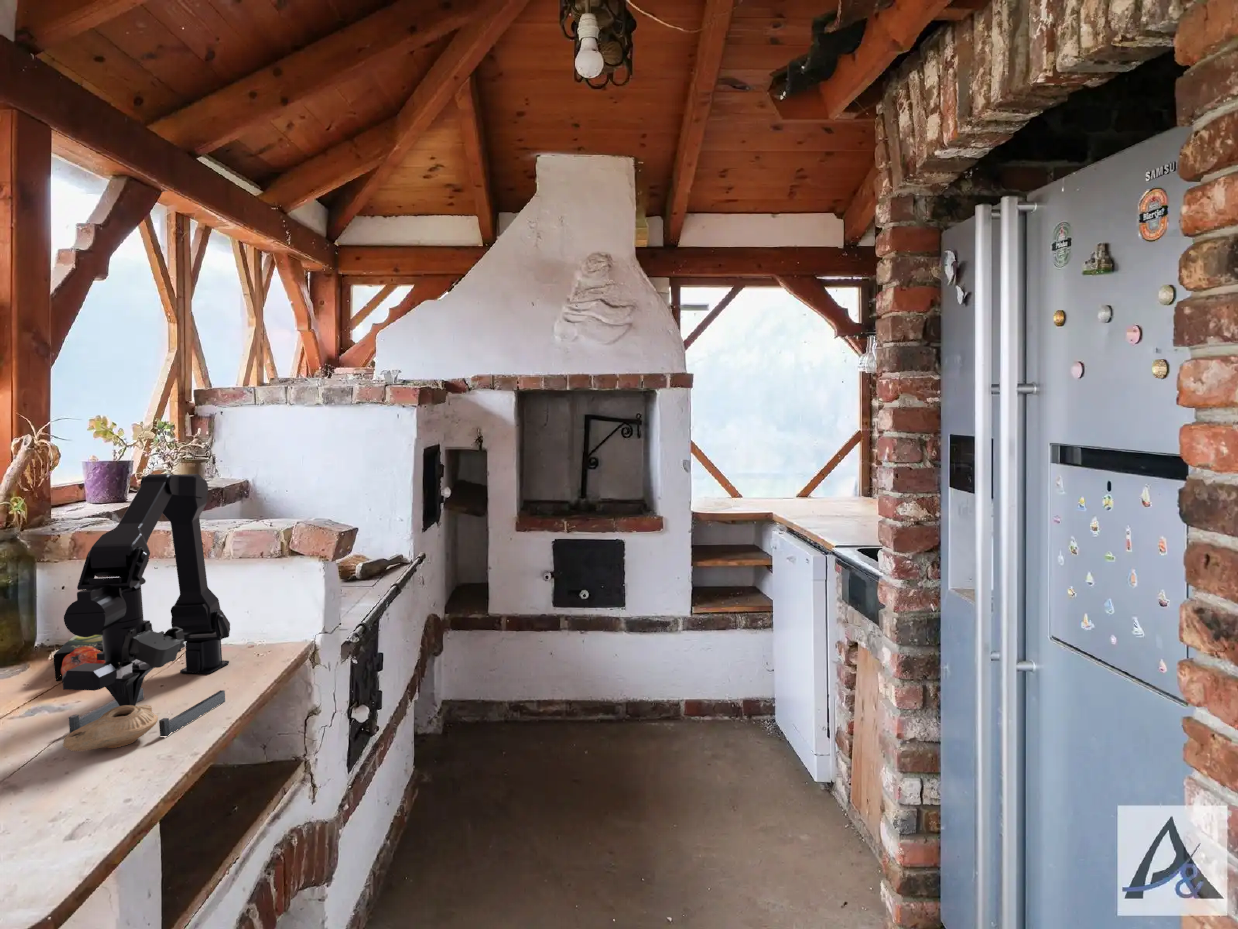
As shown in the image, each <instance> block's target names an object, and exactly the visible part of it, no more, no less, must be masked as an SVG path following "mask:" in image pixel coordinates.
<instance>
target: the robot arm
mask: <svg viewBox="0 0 1238 929" xmlns="http://www.w3.org/2000/svg"><path fill="white" fill-rule="evenodd" d="M139 486H140V487H139V488H138V490H137V492H136V494H135V495H134V497H133V499H132V501H131V502H130V504H129V506H128V507H127V509H126V511H125V512H124V513H123V516H122V517H121V519H120V521H119V522H118V524H117V526H115V528H113V529H111V530H109V531H107V532H105V533H103V534H102V535H101V536H100V537H98V539H97V540H96V541H95V542H94V544H93V545H92V546H91V547H90V550H89V551H88V553H87V555H86V557H85V561H84V564H83V568H82V571H81V574H80V577H79V580H78V582H77V583H78V584H77V586H76V588H77V592H76V600H75V601H73V602H72V603H71V604H70V605H69V606H67V608H66V610H65V613H64V615H63V622H64V625H65V628H66V629H67V630H68V631H69V633H71V634H72V635H73V636H75V635H77V636H79V637H90V636H93V635H102V642H103V652H102V651H101V652H100V653H98V654H97V660H105V662H106V663H103V664H100V663H84V664H82V665H79V666H77V667H75V668H72V669H70V670H68V671H66V673H65V674H64V675H63V676H62V675H61V677H62V679H61V681H62V689H63V690H65V691H98V690H101V689H104V688H105V689H106V690H107V691H108V692H109V693H110V695H111V696H112V697H113V699H114V700H116V701H117V703H118V704H119V705H120V706H123V705H133V706H137V703H138V702H137V699H138V695H139V692H140V688H142V685H143V683H144V680H145V677H146V676H147V675H148V674H149V673H150V672H151V671H152V670H153V669H155V668H162V667H164V666H165V665H166V664H168V663H171V662H175V661H176V659H177V656H178V653H180V652H181V651H182V649H184V648H185V652H184V653H185V654H184V656H185V667H183V668H182V669H180V670H179V673H180V674H211V673H214V672H216V671H218V670H219V669H221V668H223V667H225V666H226V665H228V664H230V660H223V655H222V654H223V653H222V651H223V650H222V640H223V639H226V638H229V637H230V633H231V632H230V631H231V622H230V621H229V620H228V618H227V616H226V615H225V613H224V612H223V610H222V609H221V605H220V600H219V598H218V597H217V596H216V595H215V593H214V592H213V591H212V590H211V589H210V588H209V586H208V580H207V571H206V563H205V554H204V547H203V546H204V544H203V538H202V530H201V522H200V516H201V514H202V513H203V511H204V509H205V507H206V505H207V504H208V500H207V498H208V494H209V485H208V482H207V481H206V479H205V478H204V477H203V478H202V476H201V475H200V474H199V473H189V474H188V473H186V474H185V473H184V474H181V473H180V474H178V473H177V474H172V473H150V474H147V475H143V476H142V477H141V480H140V485H139ZM162 514H163V516H164V517H165V519H167V520H168V521H169V523H170V527H171V535H172V541H173V542H172V544H173V551H174V557H175V565H176V573H177V582H178V588H179V596H178V597H177V600H176V601H175V603H174V604H173V606H171V609H170V616H171V619H170V621H171V622H170V624H171V628H169V629H167V630H166V631H163V630H162V631H159V632H157V631H154V630H153V625H152V624H153V623H152V622H151V620H145V619H144V609H143V608H144V607H143V597H142V595H143V593H142V585H144V584H146V582H147V581H146V579H145V578H144V577H143V575H144V573H145V570H146V568H147V566H148V564H149V562H150V555H151V550H150V548H149V545H148V542H149V539H150V537H151V535H152V533H153V531H154V529H155V527H156V526H157V524H158V522H159V520H160V518H161V517H162ZM118 663H119V664H118ZM213 671H214V672H213ZM136 702H137V703H136Z"/></svg>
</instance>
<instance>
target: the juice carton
mask: <svg viewBox="0 0 1238 929" xmlns="http://www.w3.org/2000/svg"><path fill="white" fill-rule="evenodd" d="M82 646H92V647H94V648H96V649H97V650H100V651H101V652H103V642H102V635H93V636H90V637H79V636H77V635H73V636H72V637H71V638H70V639H69V640H67V641H66V642H65V643H64V644H63V645H62V646H61V647H60V648H59V649H58V650H57V651H56V652H55V653H54V655H53V658H52V659H53V665H54V666H53V670H54V680H55V681H56V682H61V681H62V679H59V678H60V677H61V676H62V675H61V667H62V662H63V659H64V657H65V656H66V655H68V654H70V653H71V652H73V651H74V650H75V649H76V648H79V647H82ZM118 664H119V663H118ZM60 675H61V676H60ZM57 678H58V679H57Z"/></svg>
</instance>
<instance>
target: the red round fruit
mask: <svg viewBox="0 0 1238 929" xmlns="http://www.w3.org/2000/svg"><path fill="white" fill-rule="evenodd" d="M100 652H102V651H99V650H97V649H96V648H94V647H92V646H82V647H79V648H76V649H75V650H74V651H73V652H71V653H70V654H68V655H66V656H65V657H64V659H63V662H62V667H61V674H62V675H61V677H62V676H63V675H64V674H65V673H66V671H68V670H70V669H72V668H75V667H77V666H79V665H82V664H84V663H100V664H103V663H106V662H105V660H97V654H98V653H100Z"/></svg>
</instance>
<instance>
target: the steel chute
mask: <svg viewBox="0 0 1238 929" xmlns="http://www.w3.org/2000/svg"><path fill="white" fill-rule="evenodd" d="M144 697H145V696H144V688H143V687H141V688H140V692H139V695H138V699H137V702H136V704H137V703H139V702H141V701H142V699H143V700H145V698H144ZM223 702H224V703H225V702H226V690H224V689H223V690H218V691H217V692H215V693H213V694H211V695H210V696H208V697H207V698H205V699H203V700H201V701H200V702H198V703H196V704H194V705H193V706H191V707H189V708H188V709H185V710H184V711H182V712H181V713H179V714H177V715H176V716H174V717H172V718H170V719H169V717H168V718H167V717H163V718H161V719H159V720H158V725H159V726H158V727H159V737H160V736H168V735H169V734H170V733H171V732H174V731H176V730H177V729H179V730H181V729H182V728H181V727H182V726H184V727H185V725H186V724H187V723H189V722H191V721H192V720H194V719H196V718H197V717H199V716H200V715H202V716H204V715H205V714H204V713H205V712H207V713H209V712H210V711H209V710H211V709H212V708H214V707H216V706H217V705H219V704H220V705H222V704H224V703H223ZM221 703H222V704H221ZM220 705H219V706H220ZM119 706H120V705H119V704H118V703H117V701H116V700H115V699H114V700H111V701H109V702H108V703H105V704H104V705H101V706H99V707H97V708H95V709H94V710H91V711H90V712H87V713H85V714H83V715H81V716H79V714H73V715H71V716H68V727H69V728H68V729H69V734H70V733H71V732H73V731H75V730H77V729H79V728H81V727H83V726H85V725H87V724H89V723H91V722H93V721H95V720H97V719H99V718H100V717H101V716H103V714H105V713H107V712H108V711H110V710H111V709H113V708H116V707H119ZM217 707H218V706H217ZM217 707H216V708H217ZM214 709H215V708H214ZM212 710H213V709H212ZM212 710H211V711H212ZM208 711H209V712H208ZM203 714H204V715H203ZM199 718H200V717H199ZM197 719H198V718H197ZM197 719H196V720H197ZM194 721H195V720H194ZM192 722H193V721H192ZM192 722H191V723H192ZM189 724H190V723H189ZM187 725H188V724H187ZM187 725H186V726H187ZM180 728H181V729H180ZM176 732H177V731H176ZM174 733H175V732H174ZM168 737H169V736H168Z"/></svg>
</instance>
